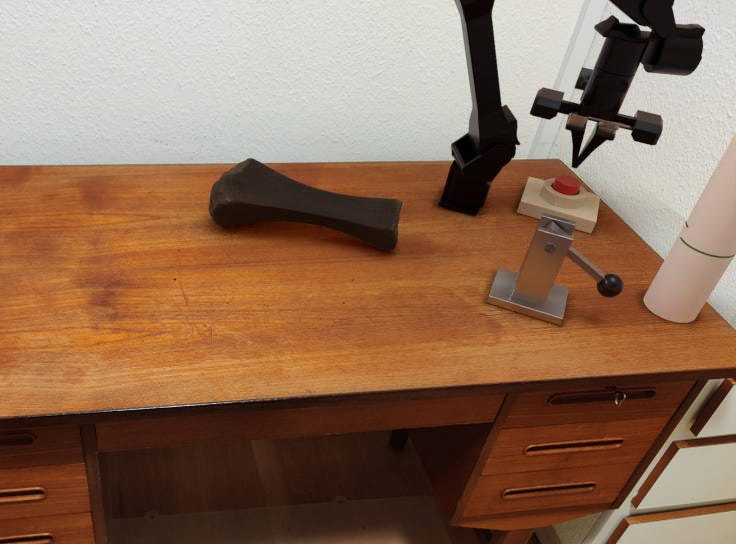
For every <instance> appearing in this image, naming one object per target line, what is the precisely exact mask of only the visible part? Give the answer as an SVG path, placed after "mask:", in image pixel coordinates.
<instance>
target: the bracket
mask: <svg viewBox="0 0 736 544" xmlns="http://www.w3.org/2000/svg"><path fill="white" fill-rule="evenodd" d="M552 221H553V222H554V223H555V224H556V225H558V226H559V227H560V228H561V229H562V230H564V231H565V232H566V233H567V234H564V233H561V232H557V231H554V230H550V229H547V228H545V227H546V226H547V225H549V224H550V223H551V222H552ZM576 223H577V222H575V221H571V220H568V219H564V218H561V217H557V216H553V215H550V214H546V213H542V216H541V218H540V219H539V221H538V223H537V225H536V228H535V231H534V233H533V236H532V238H531V241H530V242H529V246H528V248H527V250H526V253H525V255H524V258H523V260H522V263H521V266H520V268H519V271H518V272H516V271H513V270H510V269H507V268H503V267H501V266H499V267H497V270H496V272H495V275H494V277H493V278H494V279H493V281H492V283H491V287H490V290H489V293H488V296H487V298H486V303H487V304H489V305H494V306H496V307H499V308H503V309H506V310H509V311H511V312H515V313H519V314H522V315H524V316H528V317H532V318H534V319H537V320H540V321H544V322H547V323H550V324H554V325H557V326H561V325H562V322H563V320H564V316H565V312H566V306H567V301H568V297H569V290H570V288H569V287H566V286H564V285H559V284H556V283H555V281H556V279H557V277H558V275H559V273H560V270H561V268H562V266H563V263H564V261H565V259H566V257H567V256H566V255H567V252H568V250H569V248H570V246H572V244H573V241H574V238H575V237H574V235H573V234H574V231H575V230H576V229H575V227H576Z"/></svg>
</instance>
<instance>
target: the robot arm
mask: <svg viewBox="0 0 736 544" xmlns="http://www.w3.org/2000/svg"><path fill="white" fill-rule="evenodd" d="M453 1H454V4H455V6H456V9H457V11H458V14H459V17H460V23H461V31H462V38H463V39H462V40H463V46H464V47H463V48H464V53H465V61H466V67H467V68H466V69H467V76H468V83H469V90H470V97H471V105H472V106H471V112H470V116H469V119H468V132H466V133H465V134H463V135H461V136H460V137H459V138H458V139H456V140H455V141H453V142H452V143H451V144H450V153H451V156H452V158H453V160H452V162H451V165H450V166H449V169H448V173H447V177H446V180H445V184H444V187H443V190H442V194H441V196H440V197H439V199H438V202H437V205H438V206H439V207H444V208H447V209H450V210H454V211H457V212H460V213H464V214H468V215H472V216H477V215H478V214H479V211H480V210H481V209H483V208H484V206H485V204H486V201H487V199H488V196H489V192H490V189H491V187H492V183H493V181H494V180H495V179H496V177H497V176H498V174H499V173H500V172H501V170H502V169H503V168H504V167H505V166H507V165H508V164H509V163H510V162H511V161H512V160H513V159H514V158H515V156H516V153H517V146H521V142H520V140H519V138H518V126H519V125H518V124H519V123H518V119H517V118H516V116H515V115H514V113H513V111H512V110H511V109H510V107H509V106H508V105H507V104H504V105H502V96H501V87H500V77H499V68H498V57H497V51H496V50H497V48H496V41H495V32H494V23H493V10H494V6H495V1H496V0H453ZM608 1H609V2H610V3H611V4H612V5H613V6H614V7H615V8H617V9H618V10H619V11H620V12H621V13H622V14H623V15H625V16H626V17H628V18H629V19H630V20H631V21H633V22H634V23H632V22H631V23H630V22H623V21H622V22H621V21H620V19H619V18H617V17H616V16H615V15H614V14H611V15H610V16H608V18H606V19H604V20H602V21H600V22H598V23H596V24H595V25H594V27H593V29H594V30H595V31H596V32H597V33H598V34H599V35H600V36H602V38H605V39H604V42H603V43H602V47H601V49H600V51H599V54H598V56H597V60H596V61H595V64H594V67H593V68H588V67H583V66H582V67H581V69H580V71H579V74H578V75H577V79H576V82H575V84H574V87H573V88H574V89H576V90H579V91H582V93H581V96H580V97H579V98H580V99H579V103H577V102H574V101H569V100H565V99H564V96H565V91H562V90H556V89H552V88H548V87H541V88H540V89H538V90H537V92H536V94H535V96H534V100H533V103H532V105H531V109H530V111H529V115H531V116H532V117H536V118H540V119H544V120H548V121H550V120H552V119H554V118H557V116H558V114H563V115H567V118H566V123H565V126H564V129H565V130H566V131H569V132H570V134H571V144H572V153H571V154H572V155H571V168H572V169H578V168H579V167H580V166H581V165H582V164H583V162H584V161H586V159H587V158H588V157H589V156H591V154H592V153H593V152H594V151H595V150H596V149H598V148H599V147H601V145H603V144H604V143H605V142H606V141H609V142H613V141H615V139H616V134H617V131H619V129H622V130H623V129H624V130H627V131H630V136H631V138H632V139H633V141H634V142H636V143H641V144H646V145H649V146H656V145H657V143H658V141H659V140H660V137H661V136H662V133H663V130H664V120H663V117H662V115H661V114H658V113H657V114H656V113H654V112H649V111H644V110H641V109H637V110H636V112H635V114H634V115H633V116H631V115H627V114H623V113H619V112H620V110H621V108H622V106H623V103H624V102H625V101H624V100H625V99H626V98H627V97H626V96H627V94H628V92H629V90H630V87H631V85H632V82H633V81H634V79H635V76H636V73H637V72H638V69H639V67H640V65H642V67H643V70H644V71H645V73H649V74H660V75H670V76H681V77H687V76H690V75H691V74H692V73H694V72H695V70H697V69H698V67H699V65H700V63H701V62H702V59H703V56H702V55H703V51H704V40H703V36H704V34H705V32H706V28H705V27H703V26H702V25H700V24H699V23H687V24H683V23H676V19H675V14H674V13H675V12H674V9H673V6H674V4H675V0H608ZM640 26H641V27H645V28H646V27H647V28H649V29H650V30H651V31H650V30H641V28H640ZM588 121H590V122H595V125H594V127H593V129H592V131H591V133H590V135H589V136H588V138H587V140H586V142H585V143H584V145H583V147H582V144H583V141H584V136H585V133H586V129H587V125H588ZM581 148H582V149H581Z"/></svg>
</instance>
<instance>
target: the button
mask: <svg viewBox="0 0 736 544" xmlns="http://www.w3.org/2000/svg"><path fill="white" fill-rule="evenodd" d="M555 178H556V179H555V182H554V184H553V187H552V188H553V189H554V190H555V191H557V192H559V193H561V194H565V195H572V196H575V195H577V193H578V191H579V188H580V186H582V182H581V180H580V179H578V178H576V177H574V176H571V175H567V174H559V175H557V176H556V177H555Z"/></svg>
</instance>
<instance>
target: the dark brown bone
mask: <svg viewBox="0 0 736 544" xmlns="http://www.w3.org/2000/svg"><path fill="white" fill-rule="evenodd" d="M209 193H210V194H209V204H208V214H209V216H210V217H211V219H212V220H213V221H214V223H215V224H216V225H218V226H220V227H222V228H223V227H224V228H225V227H237V226H243V225H250V224H251V225H252V224H261V223H276V222H277V223H294V224H305V225H311V226H315V227H320V228H324V229H328V230H333V231H336V232H339V233H341V234H345V235H348V236H349V237H352V238H356V239H357V240H360V241H362V242H364V243H367V244H369V245H371V246H373V247H375V248H377V249H380V250H382V251H393V250H395V248H396V246H397V245H398V240H399V239H398V237H399V228H398V227H399V223H400V218H401V217H400V213H401V209H402V207H403V201H401V199H397V198H386V197H370V196H369V197H368V196H359V195H351V194H343V193H339V192H332V191H328V190H324V189H321V188H317V187H314V186H311V185H309V184H305V183H302V182H301V181H297V180H295V179H293V178H291V177H288V176H286V175H284V174H283V173H280V172H278V171H277V170H275V169H273V168H272V167H269V166H267V165H266V164H264V163H262V162H261V161H259V160H257V159H256V158H253V157H249V158H246V159H245V160H242V161H240V162H239V163H238V164H236V165H234V166H233V167H231V168H230V169H229V170H226V171H225V172H223V173H222V174H221V175H220V177H219V179H217V180H216V181H214V182H213V184H212V186H211V189H210V192H209Z"/></svg>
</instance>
